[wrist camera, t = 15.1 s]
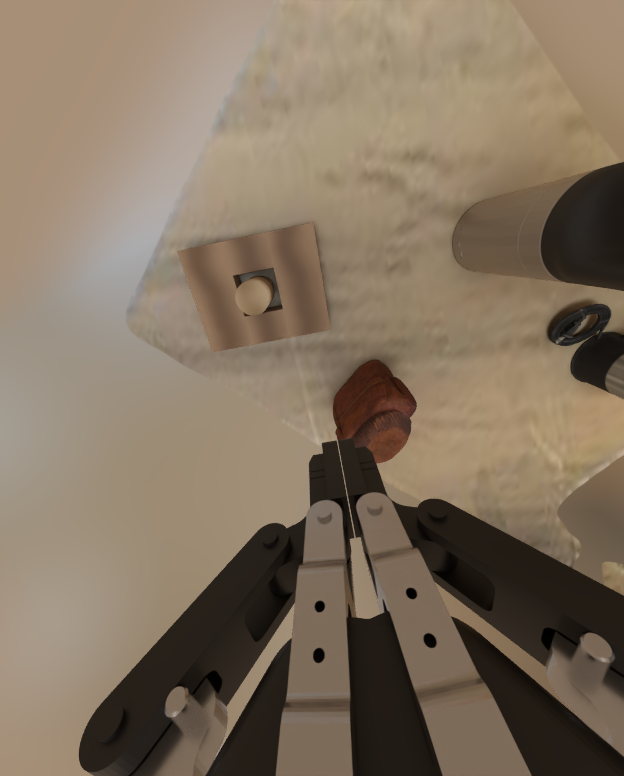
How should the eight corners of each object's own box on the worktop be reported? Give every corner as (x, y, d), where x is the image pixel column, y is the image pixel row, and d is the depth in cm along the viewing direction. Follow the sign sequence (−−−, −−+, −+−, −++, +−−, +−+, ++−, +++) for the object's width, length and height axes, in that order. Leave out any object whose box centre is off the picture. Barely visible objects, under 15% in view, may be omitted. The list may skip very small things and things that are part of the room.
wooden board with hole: (312, 224, 40) (313, 222, 37) (328, 323, 46) (330, 329, 43) (188, 251, 41) (176, 251, 38) (219, 344, 47) (212, 352, 44)
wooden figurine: (352, 418, 54) (374, 490, 38) (326, 399, 52) (337, 467, 36) (398, 371, 50) (443, 428, 34) (371, 349, 49) (405, 399, 32)
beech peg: (272, 271, 43) (264, 277, 34) (278, 299, 45) (272, 312, 36) (245, 277, 43) (230, 284, 34) (253, 305, 45) (240, 318, 36)
